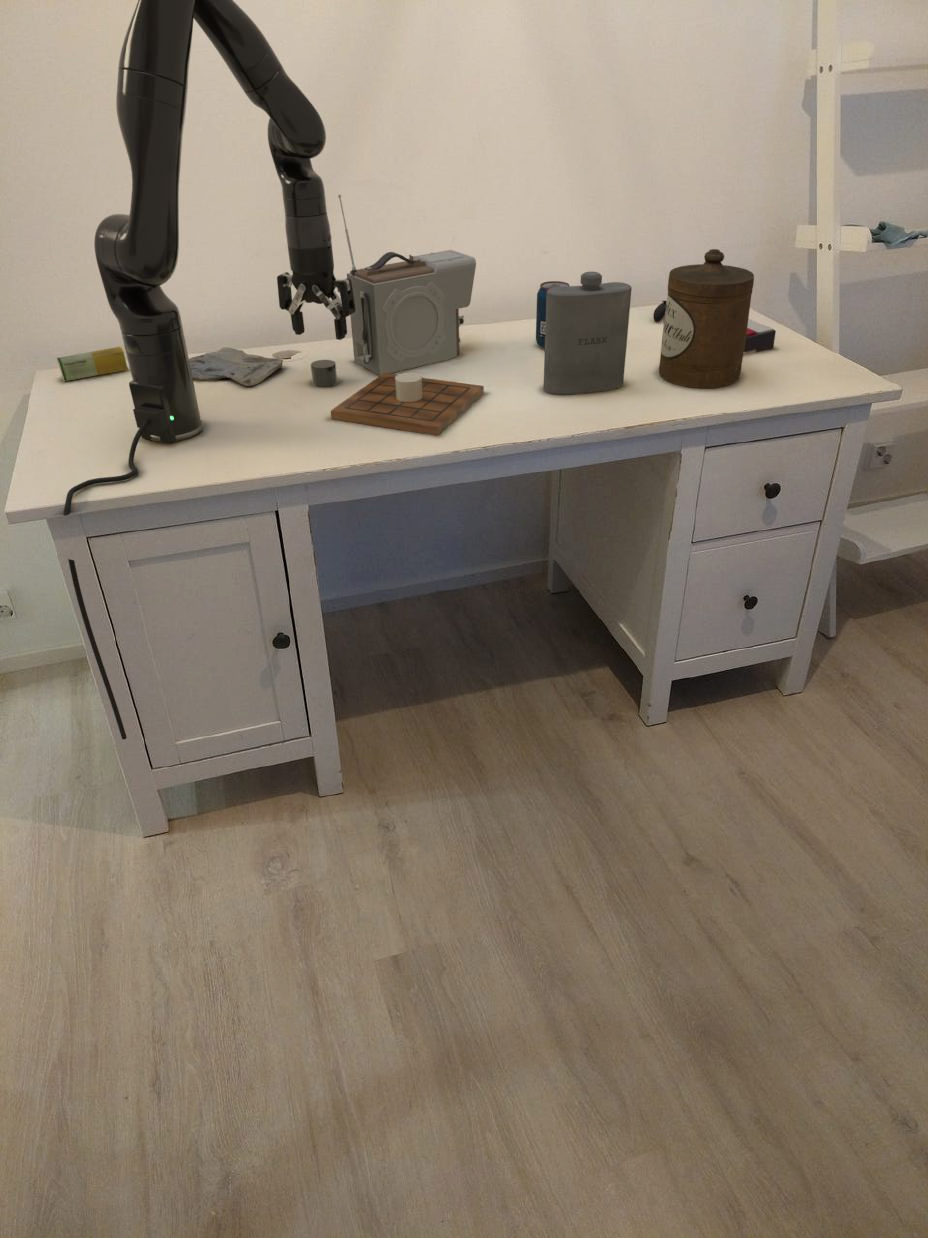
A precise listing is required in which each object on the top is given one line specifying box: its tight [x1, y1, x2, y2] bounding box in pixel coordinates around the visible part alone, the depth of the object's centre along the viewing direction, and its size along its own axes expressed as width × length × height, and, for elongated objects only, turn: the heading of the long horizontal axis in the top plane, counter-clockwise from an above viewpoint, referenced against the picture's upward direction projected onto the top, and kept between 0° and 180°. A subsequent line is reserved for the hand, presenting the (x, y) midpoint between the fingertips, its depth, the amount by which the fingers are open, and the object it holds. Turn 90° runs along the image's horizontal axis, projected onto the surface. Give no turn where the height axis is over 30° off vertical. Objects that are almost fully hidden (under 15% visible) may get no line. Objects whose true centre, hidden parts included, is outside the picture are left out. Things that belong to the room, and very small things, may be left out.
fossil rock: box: [189, 346, 284, 387], centre depth 170 cm, size 18×15×2 cm
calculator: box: [744, 318, 777, 354], centre depth 177 cm, size 11×4×15 cm
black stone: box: [310, 359, 338, 388], centre depth 165 cm, size 5×5×4 cm
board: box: [330, 373, 485, 436], centre depth 155 cm, size 20×20×2 cm
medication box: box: [56, 346, 129, 382], centre depth 170 cm, size 12×3×4 cm, turn 118°
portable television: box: [337, 193, 477, 376], centre depth 168 cm, size 12×24×30 cm, turn 124°
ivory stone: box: [395, 372, 423, 402], centre depth 154 cm, size 5×5×4 cm
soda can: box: [535, 280, 570, 350], centre depth 178 cm, size 7×7×12 cm
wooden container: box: [658, 248, 755, 389], centre depth 159 cm, size 15×15×22 cm
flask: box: [542, 271, 633, 396], centre depth 155 cm, size 15×6×20 cm, turn 103°
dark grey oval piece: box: [652, 300, 667, 323], centre depth 194 cm, size 10×5×6 cm
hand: (320, 335), depth 161 cm, fingers open, 8 cm apart
